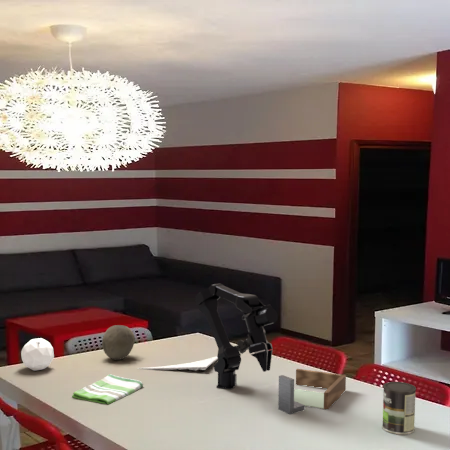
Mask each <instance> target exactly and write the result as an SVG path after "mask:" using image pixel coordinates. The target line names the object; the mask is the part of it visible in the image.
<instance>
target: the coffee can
mask: <svg viewBox="0 0 450 450" xmlns="http://www.w3.org/2000/svg"><path fill="white" fill-rule="evenodd" d="M382 386H383V400H382V426H381V428H382V429H383V431H384V432H387V433H390V434H393V435H401V436H403V435H404V436H405V435H410V434H413V433H414V432H415V418H416V417H415V415H416V393H417V392H416V390H417V388H416V386H415V385H413V384H411V383H409V382H408V383H407V382H402V381H389V382H386V383H383V385H382Z"/></svg>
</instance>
